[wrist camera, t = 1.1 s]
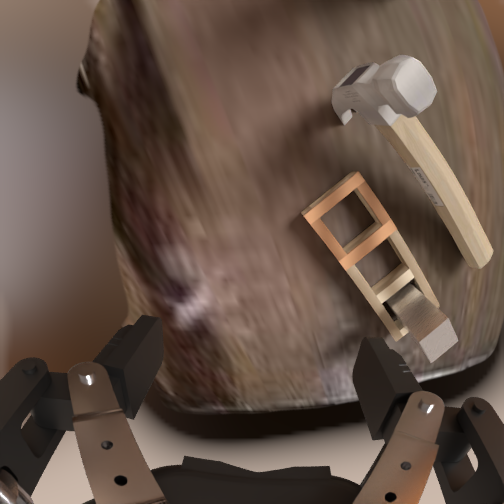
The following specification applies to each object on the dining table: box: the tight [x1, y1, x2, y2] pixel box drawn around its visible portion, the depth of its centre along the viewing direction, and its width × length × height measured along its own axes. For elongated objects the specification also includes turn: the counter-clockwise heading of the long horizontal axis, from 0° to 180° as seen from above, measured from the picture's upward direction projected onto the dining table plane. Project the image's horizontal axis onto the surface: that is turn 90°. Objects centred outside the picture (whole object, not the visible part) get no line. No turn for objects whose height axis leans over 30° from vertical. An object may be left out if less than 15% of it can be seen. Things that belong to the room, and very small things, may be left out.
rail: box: [301, 172, 440, 341], centre depth 35 cm, size 8×22×3 cm, turn 40°
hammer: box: [331, 55, 493, 269], centre depth 28 cm, size 16×5×30 cm
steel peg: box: [386, 282, 458, 363], centre depth 32 cm, size 4×4×12 cm
